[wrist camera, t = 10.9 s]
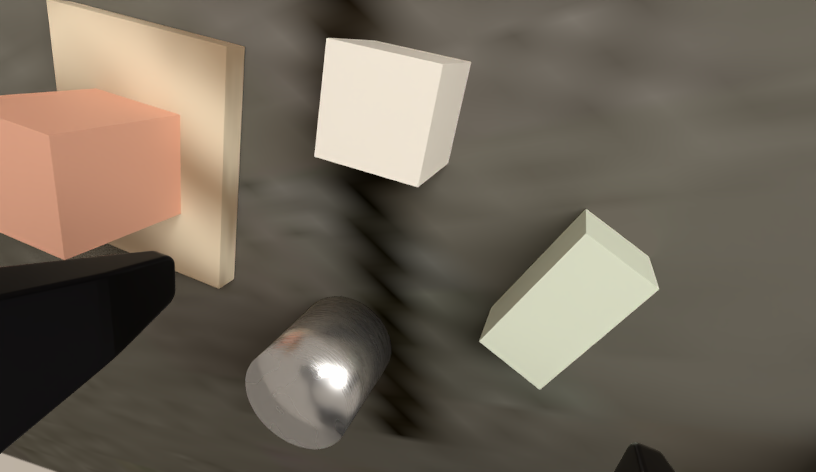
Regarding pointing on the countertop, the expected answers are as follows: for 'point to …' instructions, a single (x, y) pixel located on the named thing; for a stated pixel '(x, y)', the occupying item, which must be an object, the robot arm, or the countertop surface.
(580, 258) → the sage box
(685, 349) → the countertop surface
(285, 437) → the grey cylinder
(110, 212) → the terracotta block
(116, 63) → the birch board
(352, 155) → the cream cube
